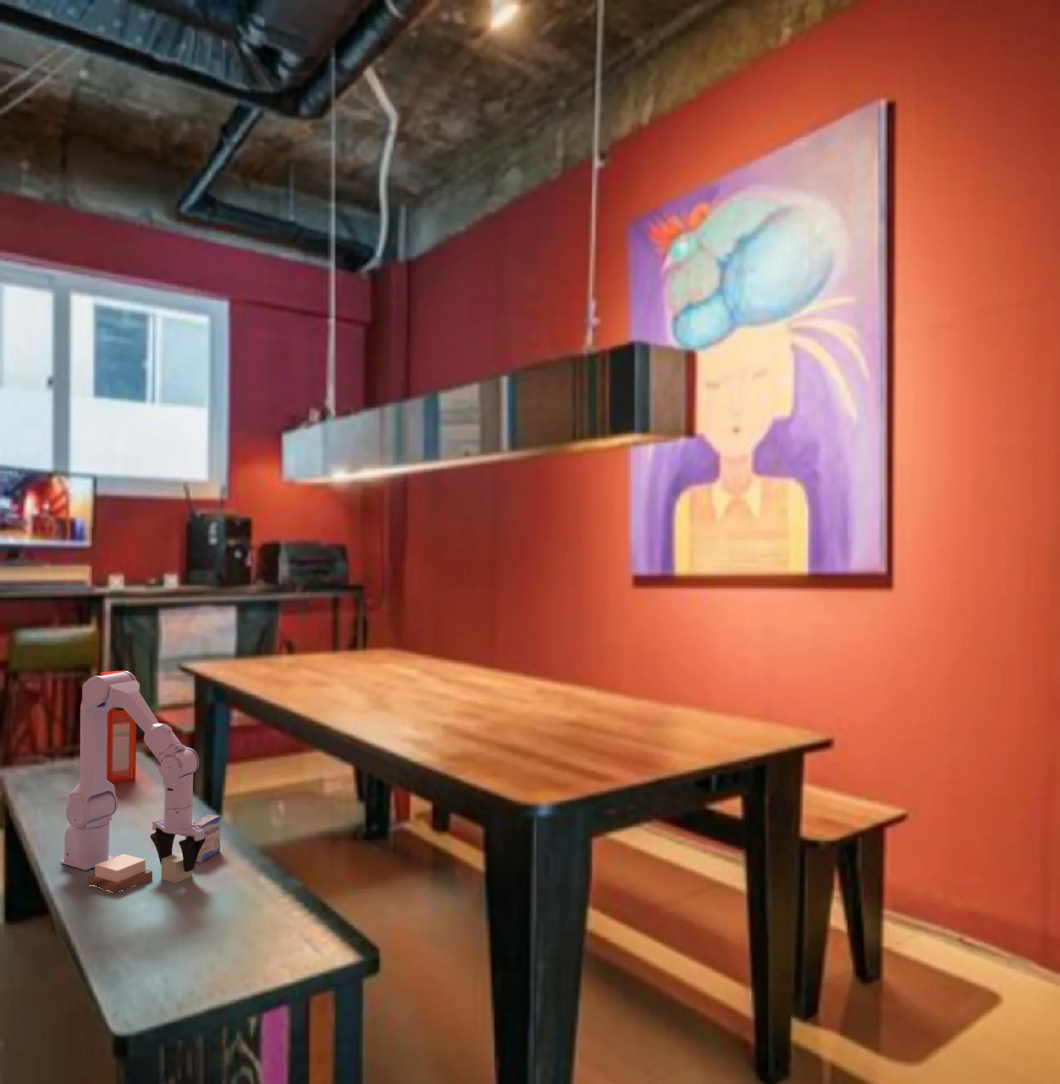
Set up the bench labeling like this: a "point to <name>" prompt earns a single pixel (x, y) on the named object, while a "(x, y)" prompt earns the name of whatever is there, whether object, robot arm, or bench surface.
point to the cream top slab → (120, 868)
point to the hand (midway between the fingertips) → (177, 867)
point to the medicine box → (209, 836)
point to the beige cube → (174, 868)
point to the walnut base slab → (122, 884)
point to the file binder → (120, 744)
